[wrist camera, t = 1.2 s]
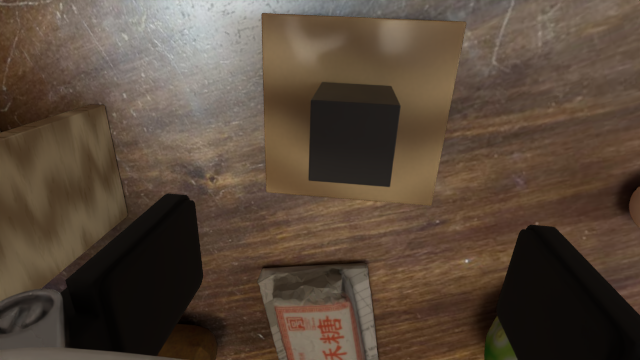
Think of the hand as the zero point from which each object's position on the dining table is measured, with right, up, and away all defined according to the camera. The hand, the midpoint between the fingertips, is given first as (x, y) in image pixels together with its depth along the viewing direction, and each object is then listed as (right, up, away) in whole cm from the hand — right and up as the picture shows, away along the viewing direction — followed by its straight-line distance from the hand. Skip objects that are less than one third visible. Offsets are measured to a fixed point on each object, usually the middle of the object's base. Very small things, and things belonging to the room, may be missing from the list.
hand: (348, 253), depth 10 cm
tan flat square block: (+2, +7, +16) cm, 17 cm away
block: (+1, +6, +13) cm, 14 cm away
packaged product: (0, -13, +25) cm, 29 cm away
